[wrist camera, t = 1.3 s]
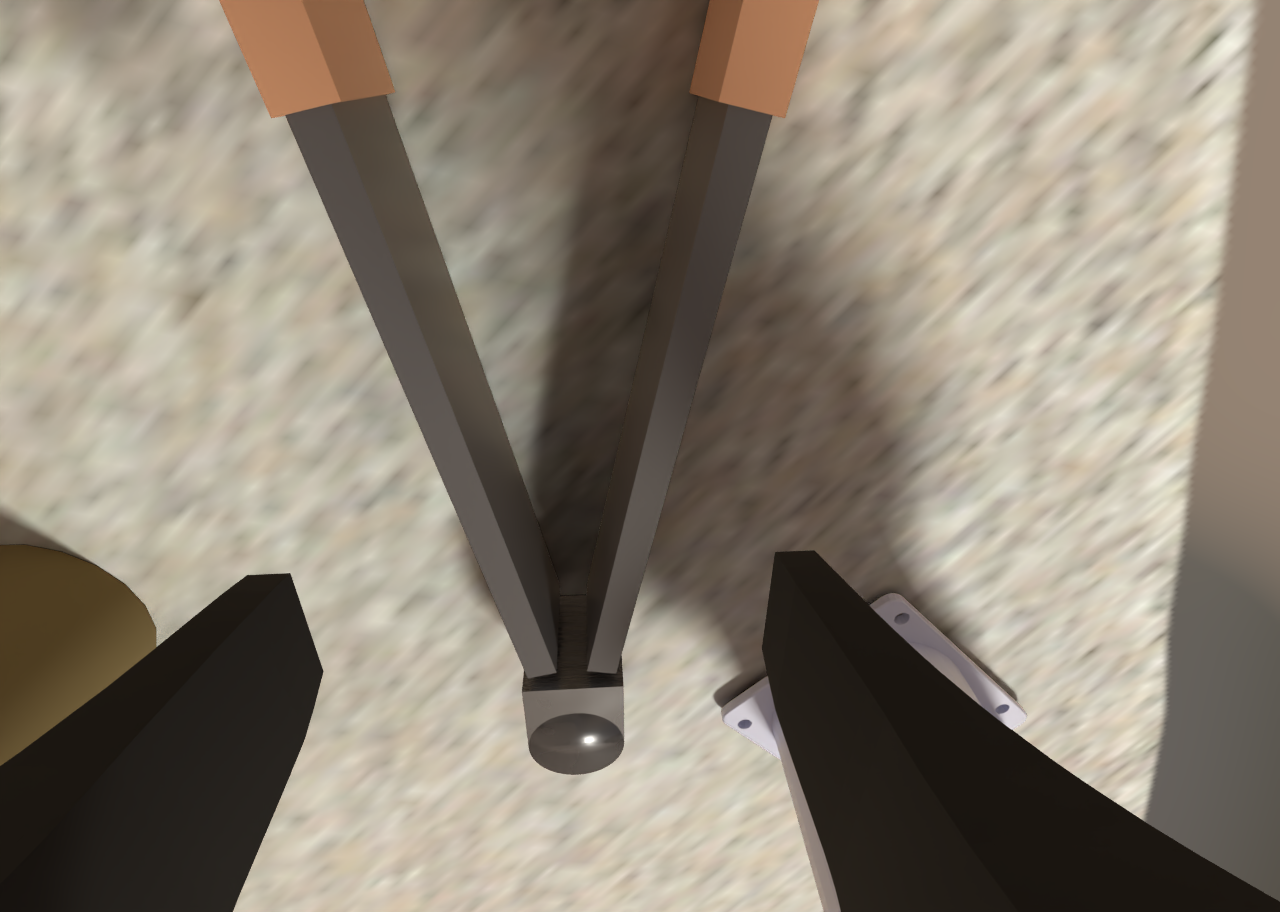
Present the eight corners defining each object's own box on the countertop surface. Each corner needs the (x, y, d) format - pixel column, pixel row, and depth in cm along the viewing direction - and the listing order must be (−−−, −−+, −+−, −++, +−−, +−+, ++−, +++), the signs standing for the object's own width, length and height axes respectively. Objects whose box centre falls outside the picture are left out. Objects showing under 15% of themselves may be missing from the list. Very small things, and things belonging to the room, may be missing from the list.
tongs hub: (618, 674, 24) (624, 771, 21) (539, 678, 24) (532, 777, 20) (617, 593, 22) (623, 686, 19) (531, 597, 22) (521, 691, 19)
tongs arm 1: (617, 586, 22) (623, 677, 18) (580, 582, 21) (579, 673, 18) (784, -61, 13) (847, -98, 10) (726, -78, 13) (773, -122, 10)
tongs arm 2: (566, 582, 21) (563, 674, 18) (530, 590, 21) (520, 682, 18) (333, -86, 13) (250, -134, 9) (273, -70, 13) (169, -112, 10)
